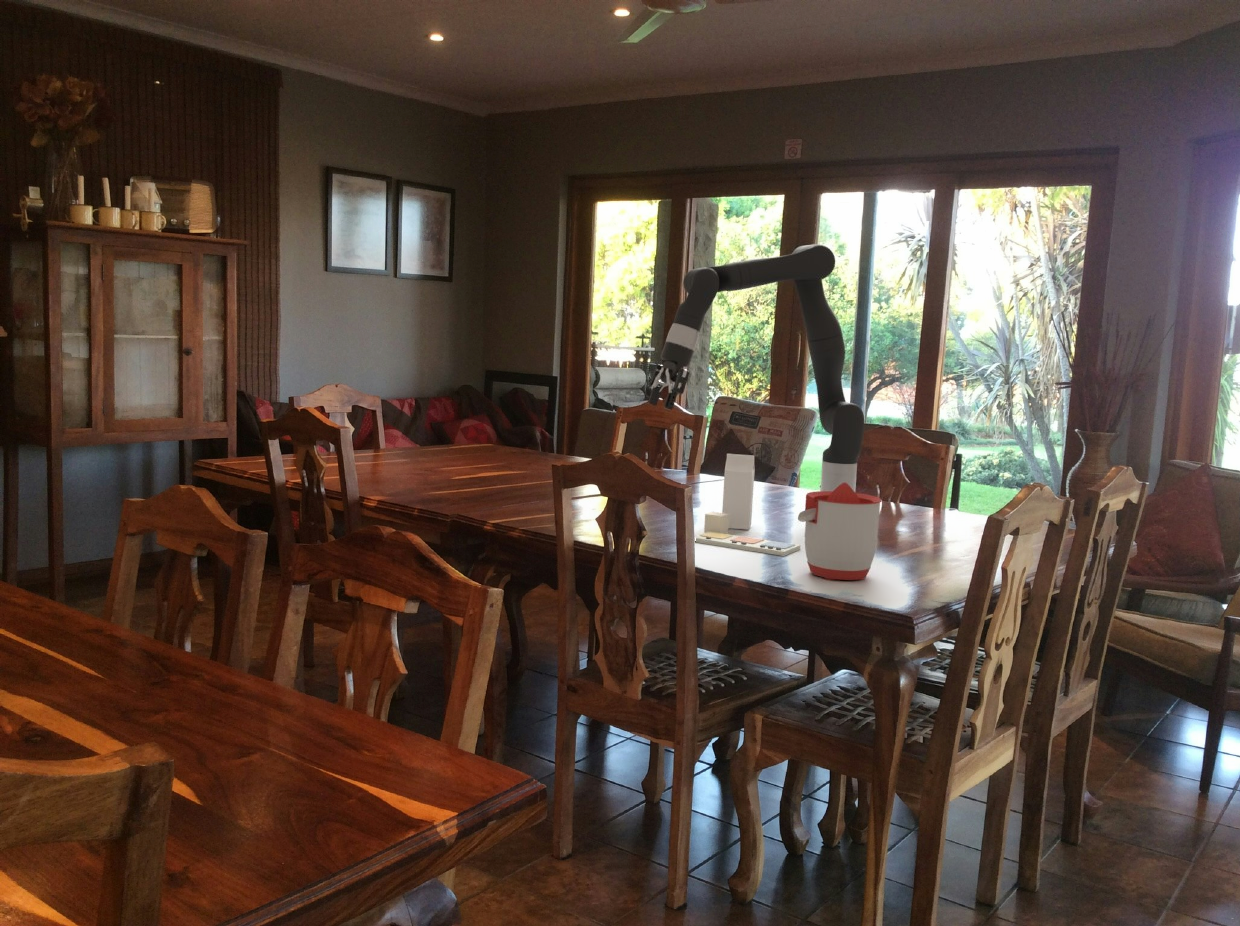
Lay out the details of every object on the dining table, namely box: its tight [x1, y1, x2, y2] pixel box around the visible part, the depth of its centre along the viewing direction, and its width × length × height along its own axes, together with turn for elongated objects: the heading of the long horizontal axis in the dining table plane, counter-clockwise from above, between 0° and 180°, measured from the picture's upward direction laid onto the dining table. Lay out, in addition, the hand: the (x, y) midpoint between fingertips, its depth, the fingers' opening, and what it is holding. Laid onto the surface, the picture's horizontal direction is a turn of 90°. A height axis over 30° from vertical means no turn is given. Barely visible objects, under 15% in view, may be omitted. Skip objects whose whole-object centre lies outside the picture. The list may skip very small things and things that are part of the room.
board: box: [695, 532, 801, 557], centre depth 255 cm, size 10×24×1 cm, turn 59°
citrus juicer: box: [797, 482, 883, 581], centre depth 226 cm, size 16×17×20 cm
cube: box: [703, 511, 729, 534], centre depth 269 cm, size 4×4×5 cm
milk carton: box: [721, 453, 756, 531], centre depth 278 cm, size 7×7×19 cm
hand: (659, 406), depth 267 cm, fingers open, 8 cm apart
